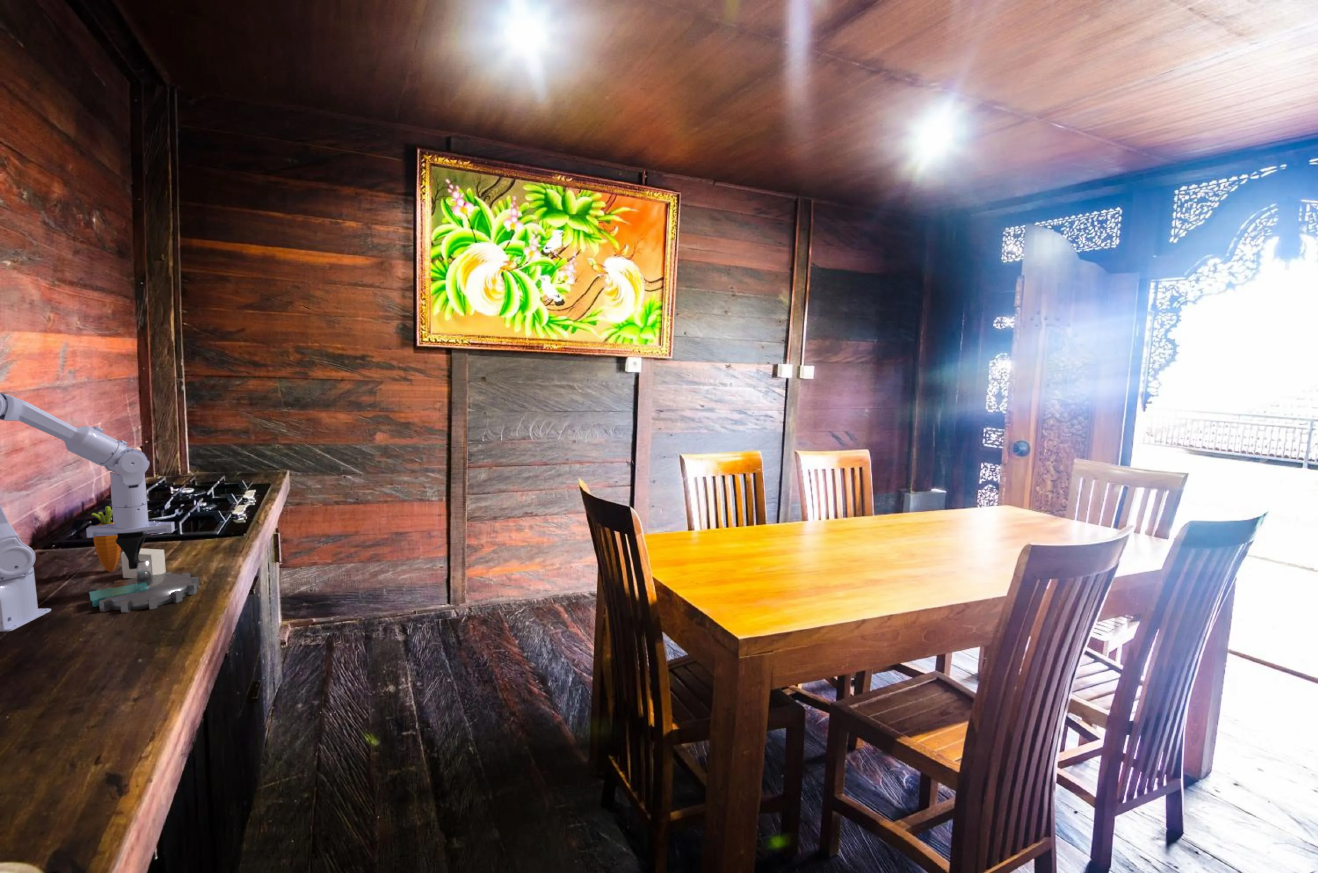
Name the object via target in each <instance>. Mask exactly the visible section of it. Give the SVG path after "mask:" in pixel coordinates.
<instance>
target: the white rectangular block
mask: <svg viewBox="0 0 1318 873" xmlns="http://www.w3.org/2000/svg"><path fill="white" fill-rule="evenodd" d="M138 557H139V560H141V559H150V568H151V575H157V574H163V573H164V572H167V571H166V559H165V558H166V556H165V549H155V548H142V547H141V549H140V552H139V556H138ZM120 558H121V569H122V578H123V579H126V578H127V579H132V578H137V573H136V569H129V561H128V558H127V557H126V555H125V553H124V552H123V551H122V552H121V553H120Z"/></svg>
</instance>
